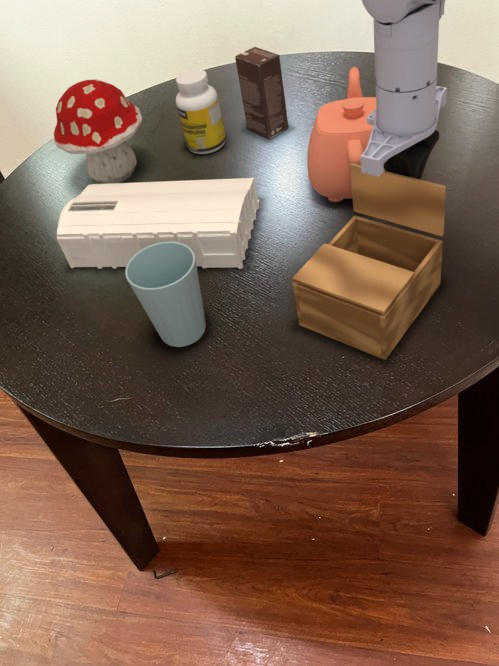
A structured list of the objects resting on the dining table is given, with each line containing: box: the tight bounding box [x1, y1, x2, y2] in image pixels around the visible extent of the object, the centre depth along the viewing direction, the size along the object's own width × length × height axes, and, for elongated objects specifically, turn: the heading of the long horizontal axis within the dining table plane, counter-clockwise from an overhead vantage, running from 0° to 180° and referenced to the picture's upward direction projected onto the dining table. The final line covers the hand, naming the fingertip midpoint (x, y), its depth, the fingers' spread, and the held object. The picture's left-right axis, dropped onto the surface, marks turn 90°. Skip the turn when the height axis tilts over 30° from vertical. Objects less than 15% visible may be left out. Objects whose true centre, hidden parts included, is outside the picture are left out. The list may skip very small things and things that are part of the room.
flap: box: [350, 163, 447, 237], centre depth 70 cm, size 6×11×1 cm
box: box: [234, 46, 289, 140], centre depth 101 cm, size 6×4×12 cm
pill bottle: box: [175, 68, 227, 155], centre depth 100 cm, size 6×6×12 cm
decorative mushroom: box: [53, 78, 143, 184], centre depth 98 cm, size 14×14×15 cm
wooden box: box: [291, 215, 444, 361], centre depth 72 cm, size 13×11×7 cm
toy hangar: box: [56, 177, 260, 270], centre depth 88 cm, size 25×15×7 cm, turn 80°
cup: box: [124, 241, 207, 348], centre depth 73 cm, size 8×8×10 cm
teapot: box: [306, 66, 385, 203], centre depth 87 cm, size 13×20×12 cm, turn 174°
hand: (405, 196), depth 71 cm, fingers closed
